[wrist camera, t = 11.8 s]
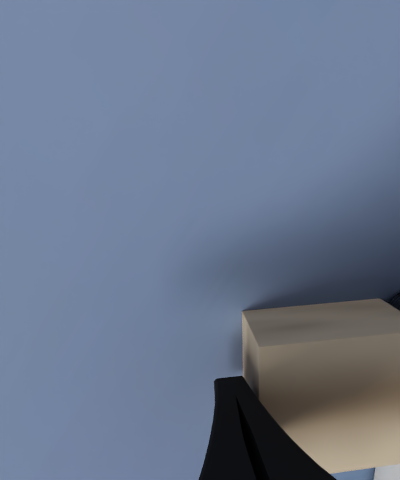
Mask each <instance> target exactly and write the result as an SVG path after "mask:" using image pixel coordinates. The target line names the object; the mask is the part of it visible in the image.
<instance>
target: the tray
mask: <svg viewBox="0 0 400 480" xmlns="http://www.w3.org/2000/svg"><path fill="white" fill-rule="evenodd" d="M374 480H400V464H396V465H389V466H381V467H375V474H374Z"/></svg>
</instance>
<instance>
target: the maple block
mask: <svg viewBox="0 0 400 480" xmlns="http://www.w3.org/2000/svg"><path fill="white" fill-rule="evenodd" d="M242 335H243V377H244V378H245V380H246V382H247V383H248V385H249V386H250V388H251V389H252V391H253V392H254V394H255V395H256V396H257V398H258V399H259V401H260V402H261V403H262V405H263V406H264V407H265V408H266V410H267V411H268V412H269V413H270V415H271V416H272V417H273V418H274V420H275V421H276V422H277V423H278V424H279V425H280V426H281V428H282V429H283V430H284V431H285V432H286V433H287V434H288V435H289V436H290V438H291V439H292V440H293V441H294V442H295V443H296V444H297V445H298V446H299V447H300V448H301V449H302V450H303V451H304V452H305V453H306V454H308V455H309V456H310V457H311V458H312V459H313V460H314V461H315V462H316V463H317V464H318V465H320V466H321V467H322V468H323V469H324V470H326V471H327V472H328V473H329V474H330V473H338V472H345V471H352V470H360V469H367V468H374V467H381V466H389V465H396V464H400V311H399V310H398V309H396V308H394V307H393V306H391V305H390V304H388V303H386V302H385V301H383V300H382V299H380V298H378V299H367V300H356V301H345V302H335V303H324V304H313V305H302V306H291V307H280V308H269V309H258V310H247V311H242Z"/></svg>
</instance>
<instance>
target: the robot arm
mask: <svg viewBox="0 0 400 480" xmlns="http://www.w3.org/2000/svg"><path fill="white" fill-rule="evenodd" d="M214 389H215V409H214V418H213V424H212V429H211V435H210V440H209V444H208V449H207V453H206V457H205V460H204V464H203V467H202V471H201V474H200V477H199V480H336V479H335V478H334V477H333V476H331V475H330V474H329V473H328V472H327V471H326V470H324V469H323V468H322V467H321V466H320V465H318V464H317V463H316V462H315V461H314V460H313V459H312V458H311V457H310V456H309V455H308V454H306V453H305V452H304V451H303V450H302V449H301V448H300V447H299V446H298V445H297V444H296V443H295V442H294V441H293V440H292V439H291V438H290V436H289V435H288V434H287V433H286V432H285V431H284V430H283V429H282V428H281V426H280V425H279V424H278V423H277V422H276V421H275V420H274V418H273V417H272V416H271V415H270V413H269V412H268V411H267V410H266V408H265V407H264V406H263V405H262V403H261V402H260V401H259V399H258V398H257V396H256V395H255V394H254V392H253V391H252V389H251V388H250V386H249V385H248V383H247V382H246V380H245V378H244V377H243V376H237V377H228V378H218V379H216V380H215V381H214Z"/></svg>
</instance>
